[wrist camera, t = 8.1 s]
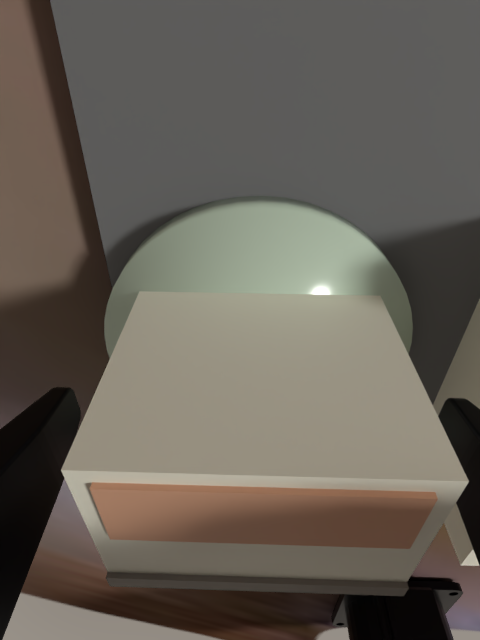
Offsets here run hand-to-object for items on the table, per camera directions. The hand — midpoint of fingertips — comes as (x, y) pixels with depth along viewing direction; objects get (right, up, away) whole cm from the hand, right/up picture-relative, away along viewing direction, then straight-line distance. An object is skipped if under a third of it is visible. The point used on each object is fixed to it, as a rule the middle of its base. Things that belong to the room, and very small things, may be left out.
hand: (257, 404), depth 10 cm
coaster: (0, +2, +2) cm, 3 cm away
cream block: (0, +1, +1) cm, 2 cm away
